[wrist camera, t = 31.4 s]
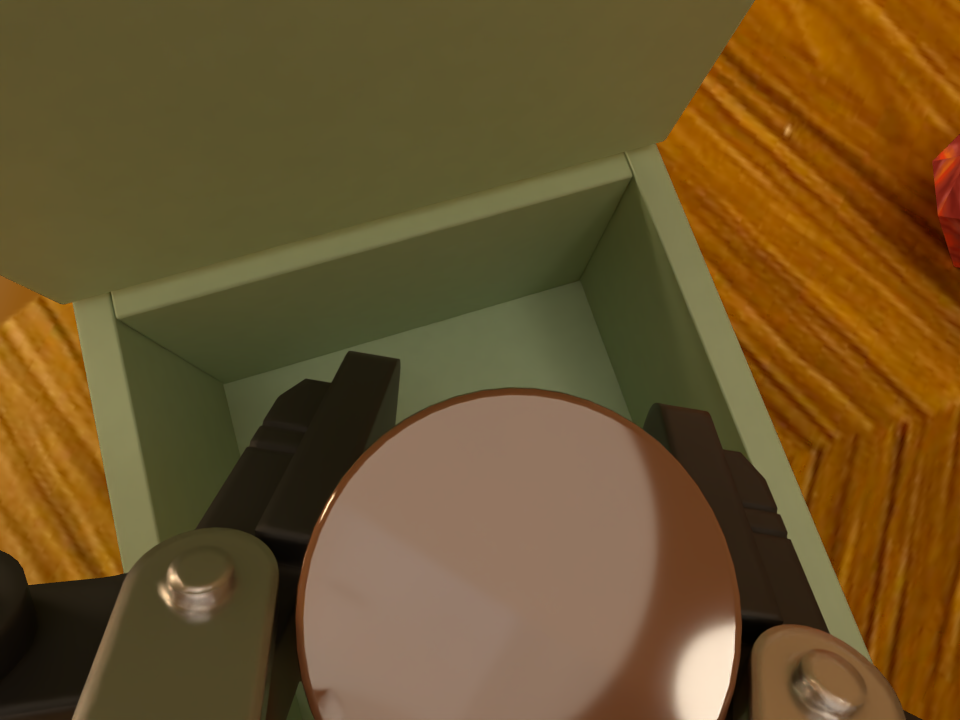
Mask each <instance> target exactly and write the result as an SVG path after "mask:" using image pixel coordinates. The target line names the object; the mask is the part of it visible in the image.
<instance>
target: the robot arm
mask: <svg viewBox="0 0 960 720" xmlns="http://www.w3.org/2000/svg"><path fill="white" fill-rule="evenodd" d="M400 368H401V363H400V359H397V358H391V357H385V356H379V355H373V354H368V353H362V352H356V351H348V352H347V354H346V355H345V357H344V359H343V361H342V363H341V365H340V367H339V369H338V371H337V373H336V375H335V376H334V378H333V380H332V382H331V383H330V382H324V381H318V380H312V379H304V380H303V381H301V382H299V383H298V384H296V385H295V386H293V387H292V388H290V389H289V390H287V391H286V392H284V393H283V394H281V395H280V396H278V398H277V399H276V401H275V402H274V404H273V406H272V407H271V409H270V410H269V412H268V414H267V415H266V417H265V418H264V420H263V424H262V426H259V428H258V430H257V431H256V433H255V434H254V436H253V438H252V439H251V441H250V446H249V447H246V449H245V450H244V452H243V454H242V455H241V457H240V458H239V460H238V462H237V463H236V465H235V466H234V468H233V470H232V471H231V473H230V474H229V476H228V478H227V479H226V481H225V482H224V484H223V486H222V487H221V489H220V490H219V492H218V494H217V495H216V497H215V498H214V500H213V502H212V503H211V505H210V506H209V508H208V510H207V511H206V513H205V514H204V516H203V518H202V519H201V521H200V522H199V524H198V526H197V527H196V529H195V530H191V531H187V532H184V533H181V534H178V535H175V536H173V537H171V538H168V539H166V540H164V541H163V542H161V543H159V544H157V545H156V546H154V547H153V548H151V549H150V550H149V551H148V552H146V553H145V554H144V555H143V556H142V557H141V558H140V559H139V560H138V561H137V562H136V563H135V564H134V565H133V567H132V568H131V569H130V571H129V572H128V573H124V574H120V575H116V576H110V577H104V578H95V579H86V580H76V581H66V582H56V583H46V584H36V585H28V583H27V580H26V577H25V574H24V571H23V568H22V567H21V565H20V564H19V562H18V561H17V560H16V559H14V558H13V557H12V556H11V555H9V554H7V553H5V552H3V551H1V550H0V720H286V719H287V716H288V713H289V710H290V707H291V704H292V701H293V699H294V696H295V693H296V690H297V687H298V684H299V681H300V682H301V677H300V671H299V665H298V659H297V653H296V640H295V606H296V594H297V585H298V580H299V575H300V570H301V566H302V561H303V556H304V553H305V550H306V547H307V544H308V542H309V539H310V536H311V533H312V530H313V527H314V525H315V523H316V521H317V519H318V517H319V515H320V513H321V511H322V509H323V507H324V504H325V502H326V500H327V499H328V497H329V496H330V494H331V493H332V491H333V490H334V488H335V487H336V485H337V484H338V482H339V481H340V479H341V477H342V476H343V475H344V474H345V472H346V471H347V470H348V469H349V468H350V466H351V465H352V464H353V463H354V462H355V461H356V459H357V458H358V457H359V456H360V455H361V454H362V453H363V452H364V451H365V450H366V449H367V448H368V447H369V446H370V445H371V444H373V443H374V442H375V441H376V440H377V439H378V438H379V437H380V436H381V435H382V434H384V433H385V432H387V431H388V430H390V429H391V428H392V427H394V426H395V424H396V413H397V402H398V392H399V381H400ZM643 430H645V431H646V432H647V433H649V434H650V435H651V436H652V437H654V438H655V439H656V440H658V441H659V442H660V443H661V444H662V445H663V446H664V447H665V448H666V449H667V450H668V451H669V452H670V453H671V454H672V455H673V456H674V457H675V458H676V459H677V460H678V461H679V462H680V463H681V464H682V466H683V467H684V468H685V469H686V471H687V472H688V473H689V474H690V476H691V477H692V478H693V480H694V481H695V482H696V483H697V485H698V486H699V488H700V490H701V491H702V493H703V494H704V496H705V498H706V499H707V501H708V503H709V504H710V506H711V508H712V509H713V511H714V514H715V516H716V518H717V520H718V522H719V524H720V527H721V529H722V531H723V533H724V535H725V538H726V541H727V544H728V548H729V551H730V554H731V557H732V560H733V563H734V567H735V572H736V578H737V583H738V588H739V593H740V605H741V619H742V634H741V653H740V662H739V667H738V673H737V679H736V684H735V689H734V692H733V695H732V699H731V702H730V705H729V708H728V711H727V715H726V718H725V720H922V719H920V718H918V717H916V716H914V715H912V714H910V713H908V712H906V711H904V710H903V709H902V706H901V703H900V701H899V699H898V697H897V695H896V693H895V691H894V690H893V688H892V687H891V685H890V684H889V682H888V681H887V680H886V678H885V677H884V676H883V675H882V674H881V672H880V671H879V670H878V669H877V668H876V667H875V666H874V665H873V664H872V663H871V662H870V661H869V660H868V659H867V658H866V657H864V656H863V655H862V654H861V653H860V652H858V651H857V650H856V649H854V648H853V647H851V646H850V645H848V644H847V643H845V642H844V641H842V640H840V639H838V638H837V637H835V636H833V635H831V634H830V632H829V630H828V628H827V625H826V623H825V620H824V618H823V616H822V613H821V611H820V608H819V606H818V604H817V601H816V599H815V596H814V594H813V592H812V589H811V587H810V584H809V582H808V580H807V577H806V575H805V572H804V570H803V568H802V565H801V563H800V561H799V558H798V556H797V553H796V551H795V549H794V546H793V544H792V541H791V539H787V534H788V532H787V529H786V527H785V525H784V522H783V520H782V517H781V515H780V514H777V509H778V508H777V505H776V503H775V501H774V498H773V496H772V493H771V491H770V489H769V486H768V484H767V482H766V479H765V478H764V477H763V476H762V475H761V474H760V473H759V472H758V471H757V469H756V468H755V467H754V466H753V465H752V464H751V463H750V462H749V461H748V460H747V459H746V458H745V456H744V455H743V454H742V453H741V452H736V451H731V450H725V449H723V448H722V445H721V443H720V440H719V437H718V434H717V431H716V429H715V426H714V423H713V420H712V417H711V415H710V414H709V412H707V411H703V410H697V409H691V408H685V407H680V406H674V405H668V404H662V403H654V404H653V405H652V406H651V408H650V409H649V412H648V414H647V417H646V420H645V423H644V426H643Z"/></svg>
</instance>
